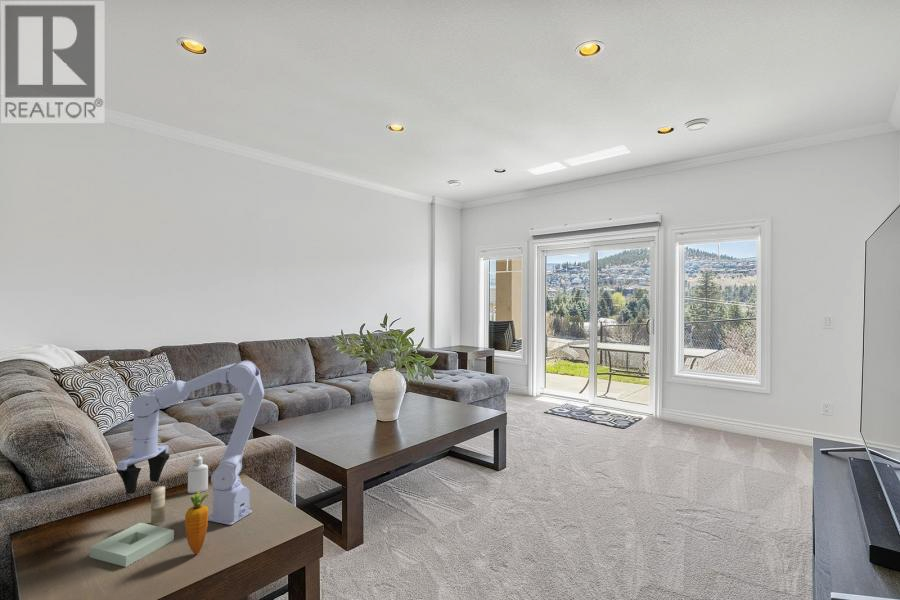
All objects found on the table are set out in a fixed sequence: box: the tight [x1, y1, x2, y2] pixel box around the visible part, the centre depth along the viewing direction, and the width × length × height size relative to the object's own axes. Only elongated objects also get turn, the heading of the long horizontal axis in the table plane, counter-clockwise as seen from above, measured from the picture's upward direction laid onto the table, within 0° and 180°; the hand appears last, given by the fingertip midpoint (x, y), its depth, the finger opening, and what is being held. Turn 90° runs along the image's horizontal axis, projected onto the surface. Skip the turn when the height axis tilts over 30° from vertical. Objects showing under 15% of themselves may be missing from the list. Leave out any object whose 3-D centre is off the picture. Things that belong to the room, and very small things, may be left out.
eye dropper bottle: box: [187, 453, 209, 494], centre depth 139 cm, size 4×6×12 cm
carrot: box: [184, 491, 209, 555], centre depth 104 cm, size 5×5×15 cm
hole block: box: [89, 522, 175, 568], centre depth 106 cm, size 12×12×2 cm
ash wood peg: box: [150, 485, 166, 526], centre depth 119 cm, size 3×3×10 cm
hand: (143, 486), depth 117 cm, fingers open, 7 cm apart
